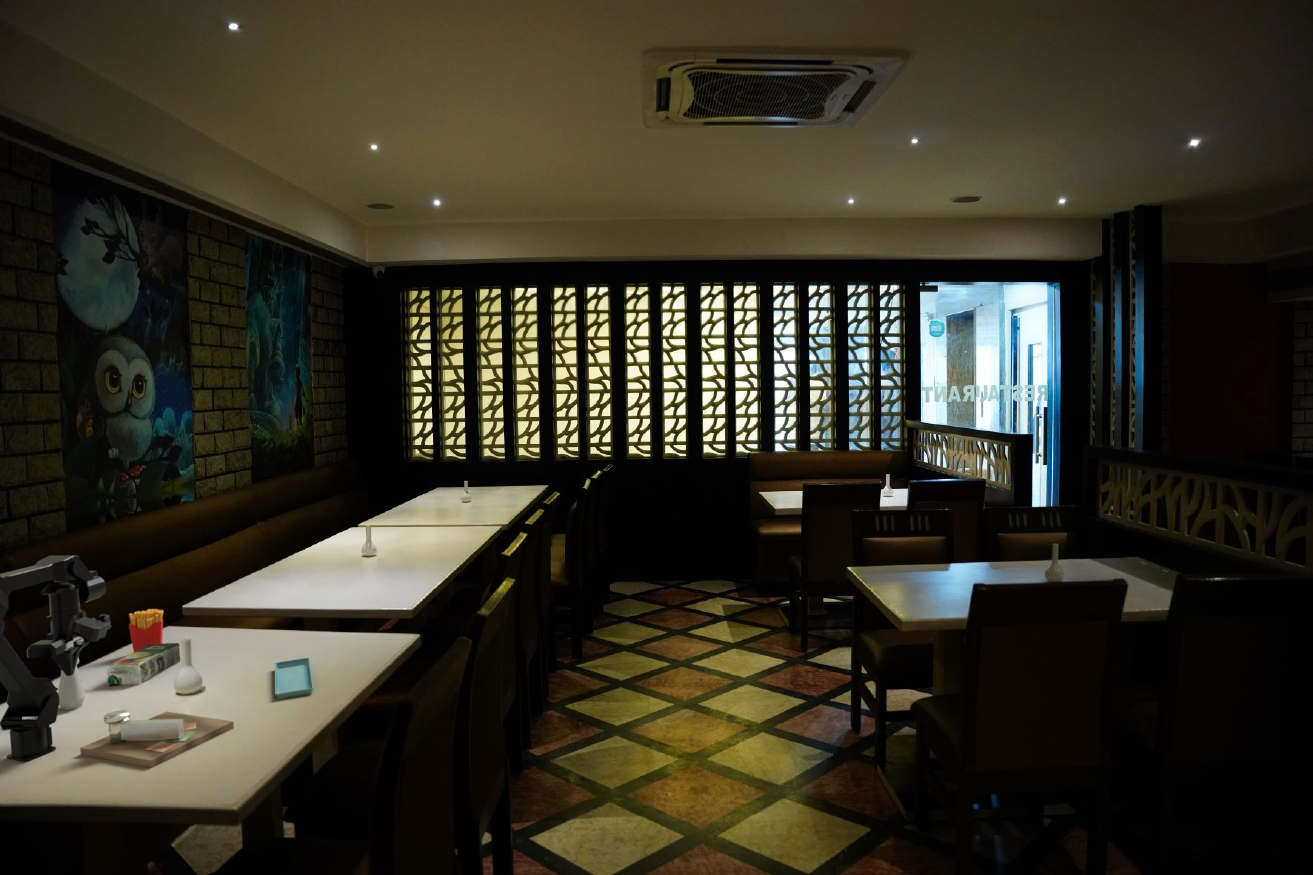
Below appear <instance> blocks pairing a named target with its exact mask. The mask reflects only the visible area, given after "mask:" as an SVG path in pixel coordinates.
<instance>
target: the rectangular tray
mask: <svg viewBox="0 0 1313 875" xmlns="http://www.w3.org/2000/svg"><path fill="white" fill-rule="evenodd" d="M314 688H315V687H314V681H313V673H312V668H311V658H310V657H302V658H297V659H296V658H295V659H291V660H285V661H284V660H283V661H277V662H274V694H275V696H276V698H277V699H278V700H282V699H288V698H294V697H299V696H306V695H310V694H312V693H313V691H314Z"/></svg>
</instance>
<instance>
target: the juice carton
mask: <svg viewBox="0 0 1313 875" xmlns="http://www.w3.org/2000/svg"><path fill="white" fill-rule="evenodd" d="M180 653H181V652H180V643H178V642H174V643H173V642H169V643H168V642H167V643H163V642H162V644H148V645H147V646H145V647H143V648H142V649H139V650H137V651H135V652H134V651H133V652H132V653H130V654H129V655H126V656H124V657H122V658H120V659H118V660H116V661H115V662H113V663H112V664H108V665H107V666H106V675H107V678H106V679H107V685H108V686H112V685H121V686H127V685H128V686H129V685H142V684H144V683H146V682H147V681H149V680H151V679H153V678H154V677H155V676H157V675H160V674H161V673H162V672H164V671H166V670H168V669H170V668H171V667H173V666H175V665H177V664H178V663H180V662H181V654H180Z"/></svg>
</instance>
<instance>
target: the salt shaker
mask: <svg viewBox="0 0 1313 875" xmlns="http://www.w3.org/2000/svg"><path fill="white" fill-rule="evenodd" d="M79 663H80V659H79V656H78V660H77V663H76V667H75V670H74V674H73V675H71V676H66V675H65V673H64V672H63V671H62V669H61V670H60V679H59V684H58V685H59V686H58V690H57V693H58V695H59V700H60V702H59V708H60V709H61V710H62V711H71V710H75V709H78V708H80V707H82V706H83V704H84V701H85V698H86V693H85V691H84V687H83V684H82V679H81V676H80V673H79V670H78V665H79Z"/></svg>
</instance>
